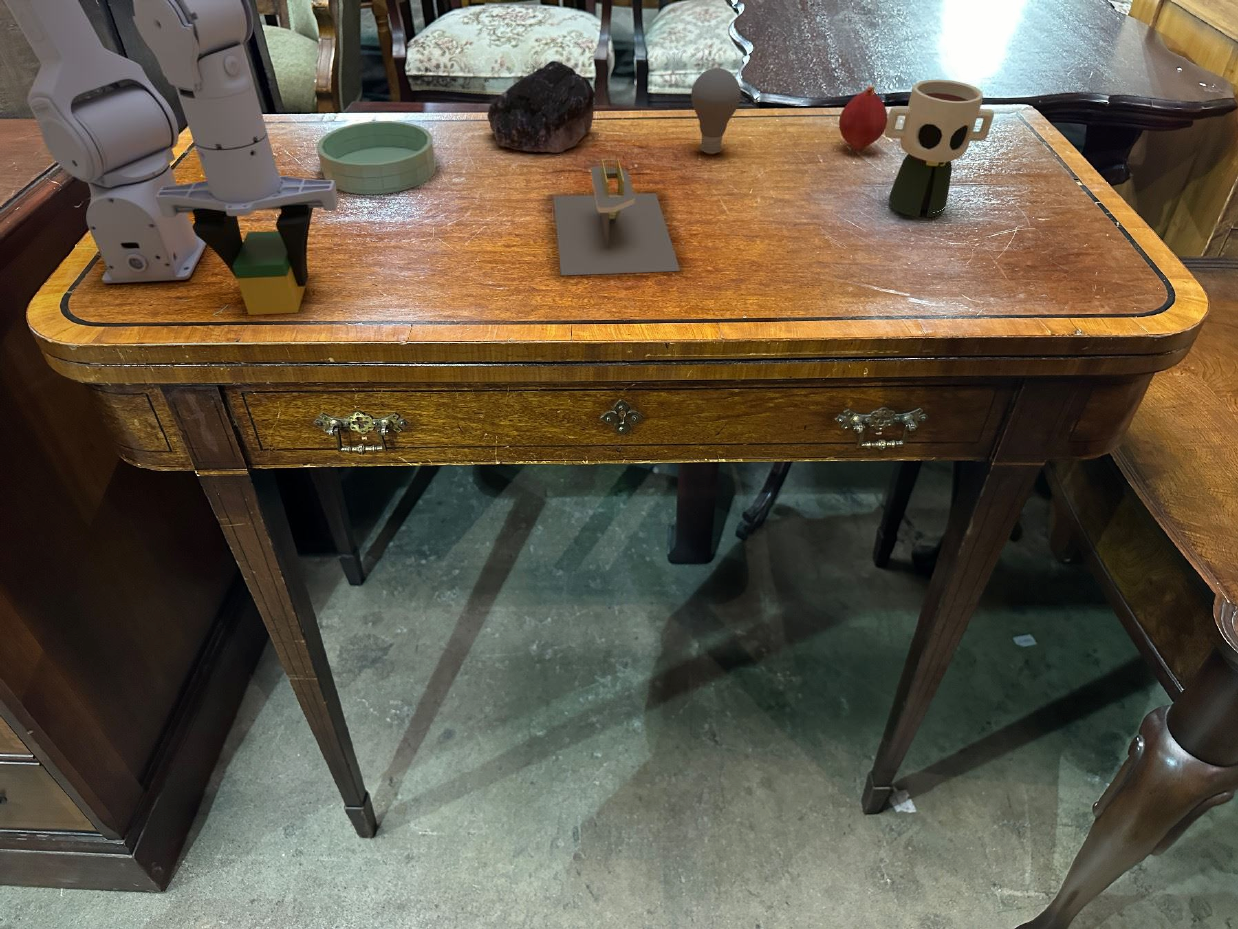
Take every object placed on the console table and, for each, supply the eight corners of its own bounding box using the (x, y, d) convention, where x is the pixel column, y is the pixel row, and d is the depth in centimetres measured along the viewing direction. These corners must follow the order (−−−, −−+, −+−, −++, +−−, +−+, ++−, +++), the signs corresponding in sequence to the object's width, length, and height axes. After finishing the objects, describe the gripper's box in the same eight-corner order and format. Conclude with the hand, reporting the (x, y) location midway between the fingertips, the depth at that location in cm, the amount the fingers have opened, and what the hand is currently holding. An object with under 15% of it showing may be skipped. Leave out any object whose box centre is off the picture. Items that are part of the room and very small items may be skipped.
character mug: (872, 221, 91) (902, 100, 82) (861, 193, 96) (888, 76, 87) (971, 225, 90) (1012, 104, 82) (955, 197, 96) (991, 80, 87)
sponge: (298, 312, 75) (283, 264, 72) (248, 315, 75) (231, 266, 72) (308, 277, 80) (295, 229, 77) (262, 279, 80) (247, 231, 76)
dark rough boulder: (474, 134, 109) (462, 57, 102) (561, 106, 114) (555, 31, 106) (523, 177, 102) (514, 98, 94) (613, 146, 107) (612, 68, 99)
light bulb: (678, 147, 105) (684, 64, 98) (719, 140, 107) (727, 58, 100) (701, 165, 101) (708, 80, 94) (743, 157, 103) (753, 73, 96)
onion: (825, 144, 107) (837, 79, 101) (864, 139, 108) (878, 75, 103) (847, 161, 103) (861, 95, 97) (888, 156, 104) (904, 91, 99)
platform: (655, 193, 95) (658, 136, 91) (680, 270, 82) (684, 208, 78) (553, 196, 94) (550, 138, 90) (561, 275, 81) (558, 212, 77)
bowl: (434, 192, 94) (429, 162, 92) (316, 196, 93) (309, 166, 91) (438, 147, 104) (434, 119, 102) (331, 150, 103) (325, 122, 100)
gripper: (122, 159, 64) (183, 309, 73) (314, 152, 65) (349, 300, 74) (149, 125, 69) (202, 269, 78) (326, 120, 70) (358, 262, 80)
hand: (275, 282), depth 77 cm, fingers closed on sponge, 4 cm apart
